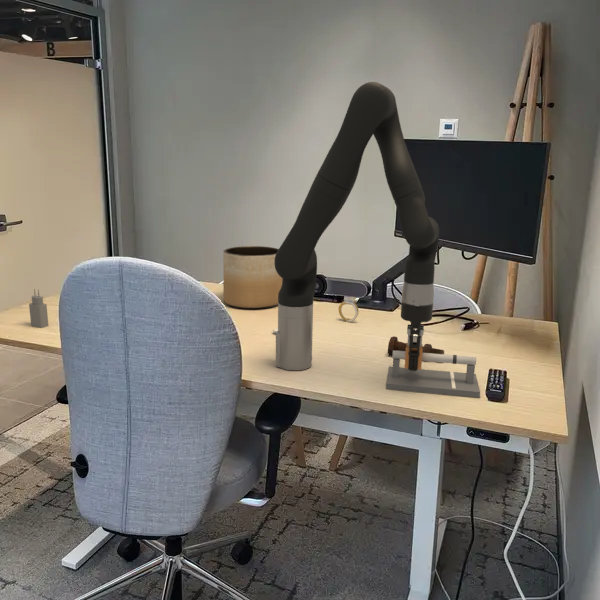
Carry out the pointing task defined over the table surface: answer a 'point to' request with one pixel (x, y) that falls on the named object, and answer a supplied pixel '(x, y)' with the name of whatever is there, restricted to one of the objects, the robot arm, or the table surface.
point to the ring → (350, 301)
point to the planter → (250, 277)
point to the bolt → (401, 346)
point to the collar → (418, 357)
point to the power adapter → (38, 312)
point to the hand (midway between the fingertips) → (412, 365)
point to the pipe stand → (434, 376)
